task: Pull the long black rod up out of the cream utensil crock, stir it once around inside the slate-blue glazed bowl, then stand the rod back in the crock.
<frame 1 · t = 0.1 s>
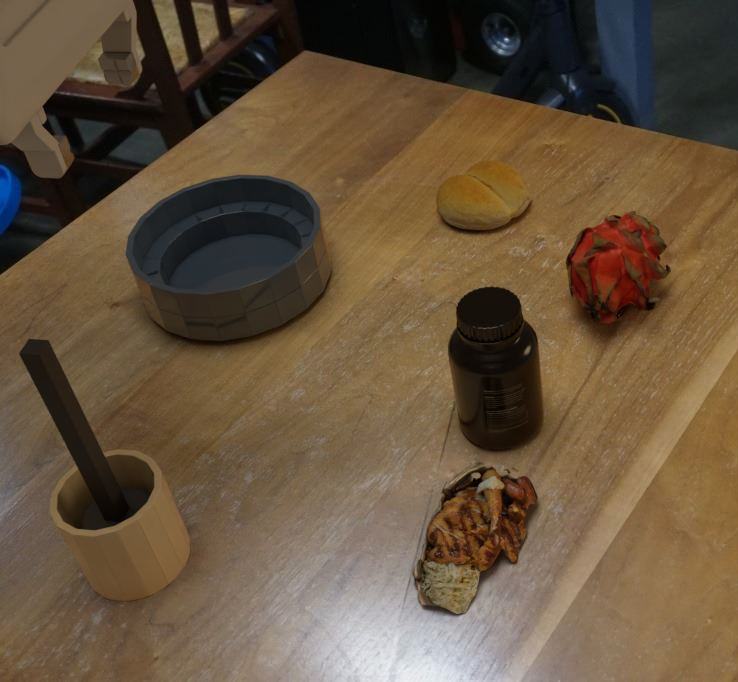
hand: (92, 122, 63), 32 cm above the table, tool pointing down, fingers open, 8 cm apart
supplement bottle: (501, 421, 88), on the table
crock: (140, 560, 80), on the table
bowl: (239, 281, 102), on the table
brown food piece: (475, 544, 79), on the table
bread roll: (484, 208, 108), on the table
long black rod: (138, 556, 79), resting on crock
dragon fruit: (616, 302, 97), on the table
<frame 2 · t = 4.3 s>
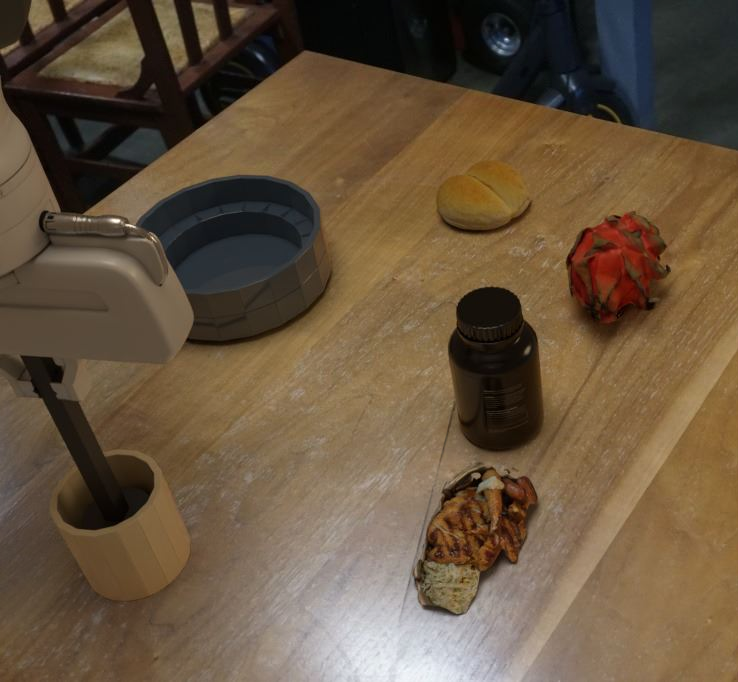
hand: (56, 392, 68), 18 cm above the table, tool pointing down, fingers closed on long black rod
long black rod: (138, 556, 79), point 1 cm above the table, touching crock, gripper
everything else where it was.
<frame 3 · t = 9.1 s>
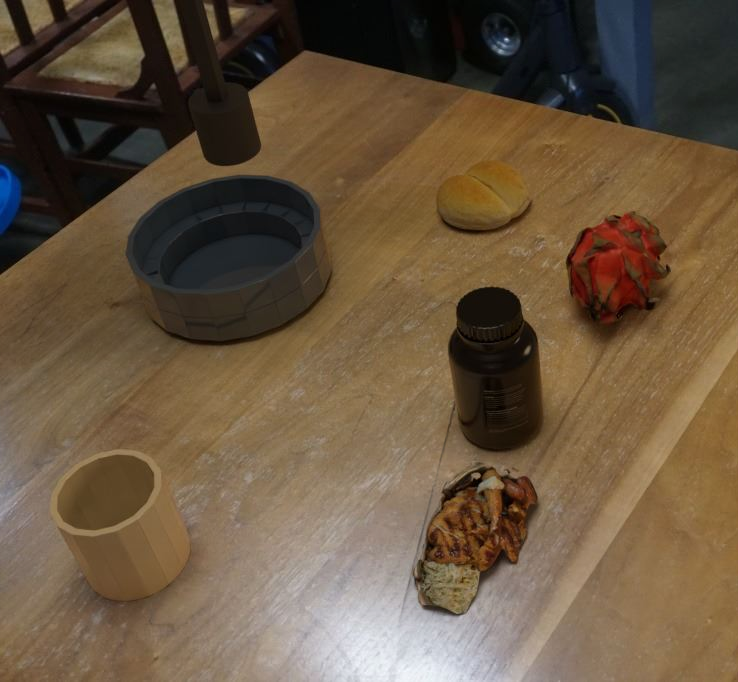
long black rod: (232, 150, 92), point 15 cm above the table, touching gripper
everything else where it was.
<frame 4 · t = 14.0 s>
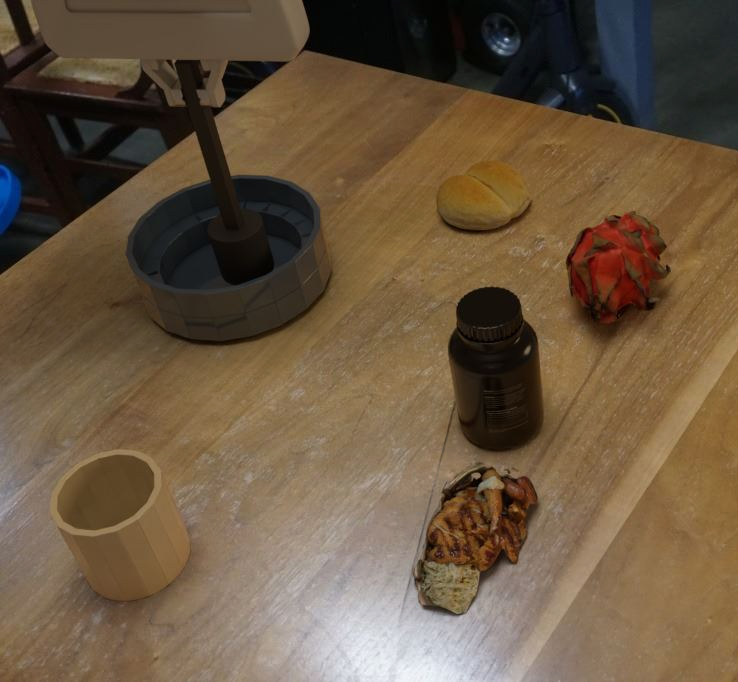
hand: (197, 103, 87), 20 cm above the table, tool pointing down, fingers closed on long black rod
long black rod: (248, 268, 99), point 3 cm above the table, touching gripper
everything else where it was.
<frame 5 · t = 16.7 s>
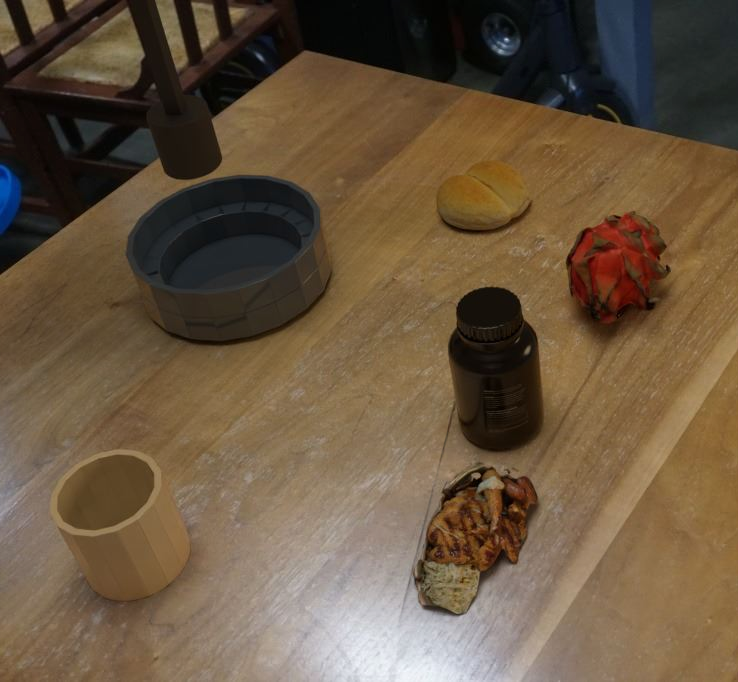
long black rod: (193, 163, 90), point 15 cm above the table, touching gripper
everything else where it was.
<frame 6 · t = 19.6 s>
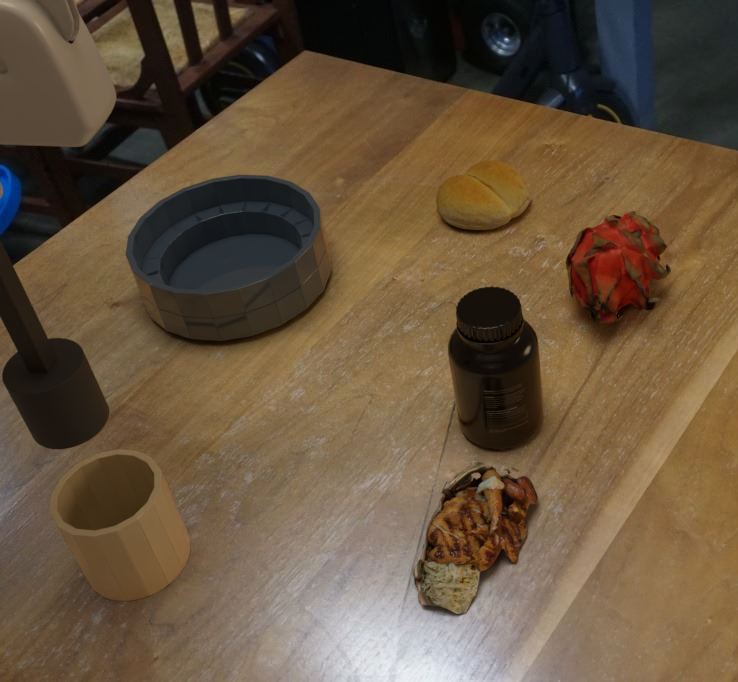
long black rod: (71, 421, 69), point 15 cm above the table, touching gripper
everything else where it was.
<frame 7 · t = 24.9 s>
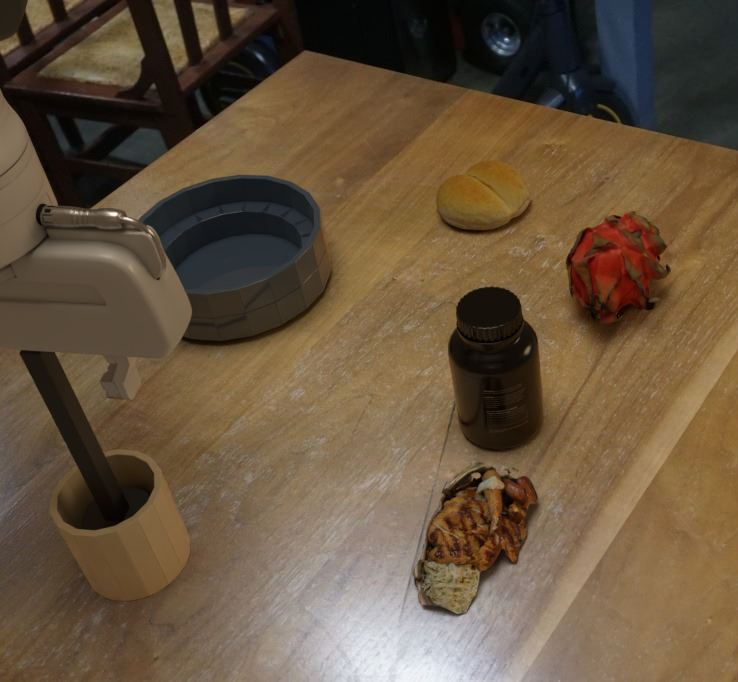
hand: (53, 387, 67), 18 cm above the table, tool pointing down, fingers open, 8 cm apart
long black rod: (138, 556, 79), resting on crock
everything else where it was.
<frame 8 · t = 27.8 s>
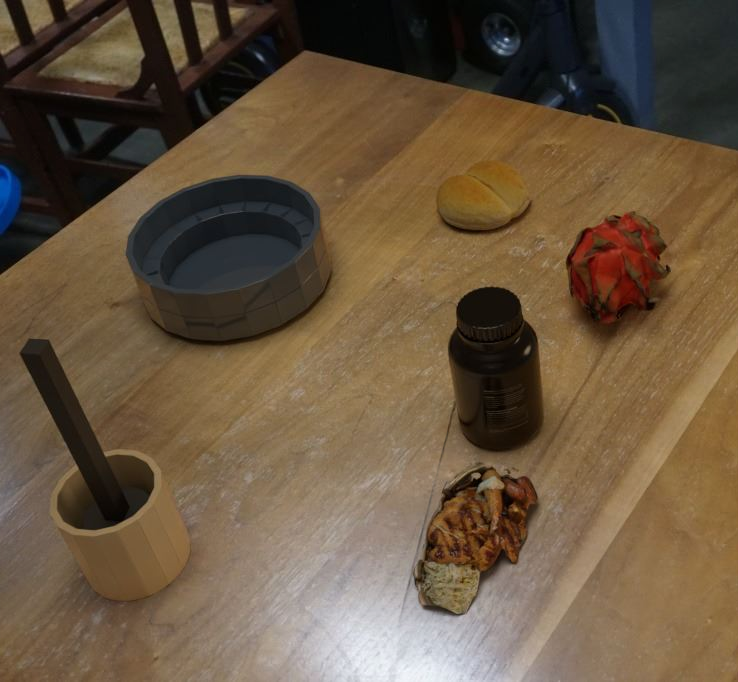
nothing on the table moved.
at the end: long black rod 0.0 cm off-centre in the crock, point 0.5 cm above the crock's base; long black rod tilted 0°; long black rod touching crock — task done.
